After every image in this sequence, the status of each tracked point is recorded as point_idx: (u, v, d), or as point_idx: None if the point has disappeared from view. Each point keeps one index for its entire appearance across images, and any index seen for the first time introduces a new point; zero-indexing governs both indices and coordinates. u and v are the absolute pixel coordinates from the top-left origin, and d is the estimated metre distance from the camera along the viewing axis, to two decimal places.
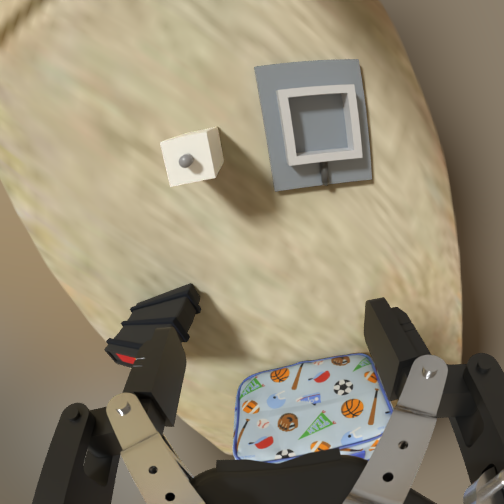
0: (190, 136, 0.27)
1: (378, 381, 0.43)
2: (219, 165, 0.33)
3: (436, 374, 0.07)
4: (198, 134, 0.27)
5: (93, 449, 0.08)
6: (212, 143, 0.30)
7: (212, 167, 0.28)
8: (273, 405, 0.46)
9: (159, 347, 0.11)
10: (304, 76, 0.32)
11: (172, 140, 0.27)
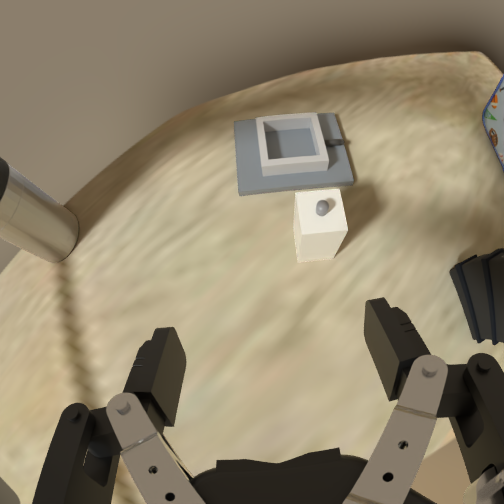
0: (299, 206, 0.30)
1: (495, 93, 0.34)
2: None
3: (436, 374, 0.07)
4: (297, 199, 0.30)
5: (93, 449, 0.08)
6: None
7: (329, 190, 0.30)
8: None
9: (159, 347, 0.11)
10: (249, 156, 0.43)
11: (301, 222, 0.29)
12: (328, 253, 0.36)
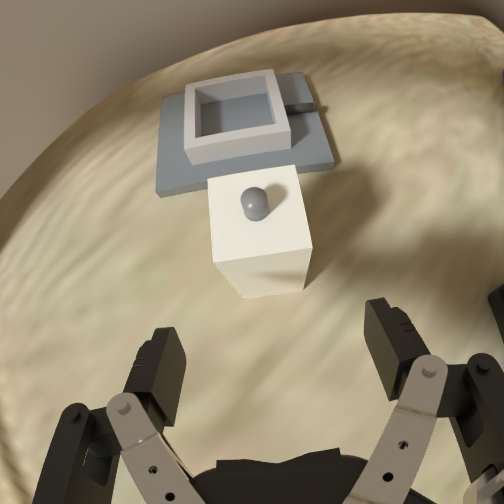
0: (211, 204, 0.15)
1: None
2: None
3: (436, 374, 0.07)
4: (210, 190, 0.15)
5: (93, 449, 0.08)
6: None
7: (275, 169, 0.15)
8: None
9: (159, 347, 0.11)
10: (176, 139, 0.28)
11: (214, 237, 0.15)
12: (290, 284, 0.21)
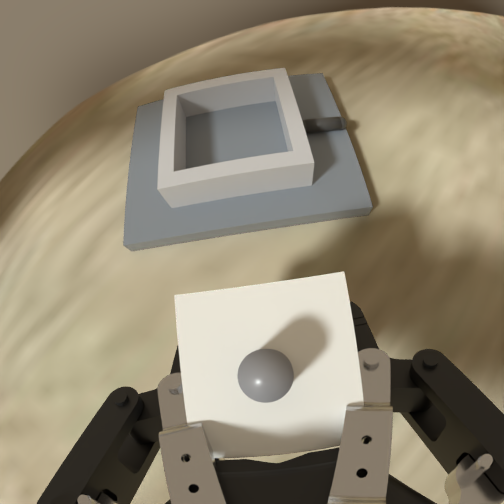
0: (184, 351, 0.08)
1: None
2: None
3: (376, 367, 0.08)
4: (180, 322, 0.08)
5: (134, 435, 0.08)
6: None
7: (305, 281, 0.08)
8: None
9: None
10: (152, 167, 0.21)
11: (191, 416, 0.07)
12: None
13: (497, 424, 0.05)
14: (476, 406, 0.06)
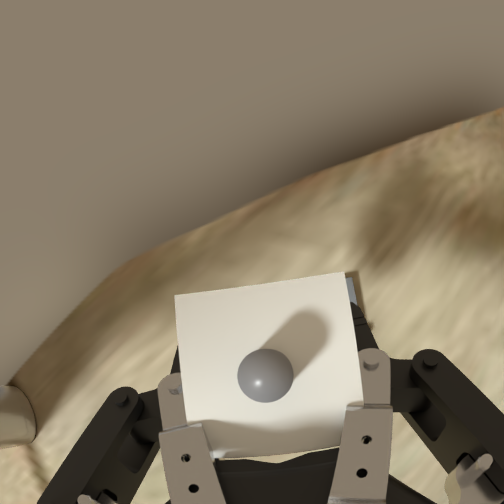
0: (184, 351, 0.08)
1: None
2: None
3: (376, 367, 0.08)
4: (180, 322, 0.08)
5: (134, 435, 0.08)
6: None
7: (305, 281, 0.08)
8: None
9: None
10: None
11: (191, 416, 0.07)
12: None
13: (497, 424, 0.05)
14: (476, 406, 0.06)
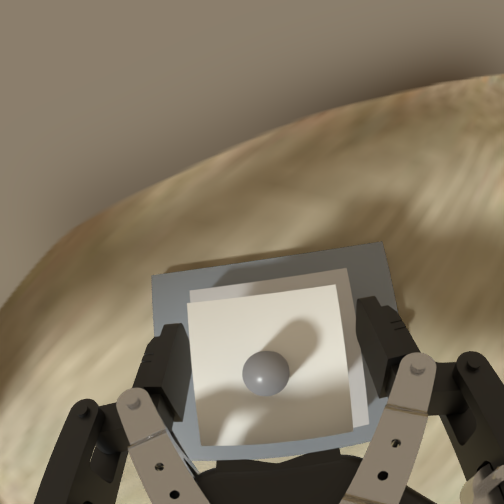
0: (195, 352, 0.09)
1: None
2: None
3: (424, 372, 0.07)
4: (192, 327, 0.09)
5: (101, 445, 0.08)
6: None
7: (301, 292, 0.09)
8: None
9: (168, 343, 0.11)
10: None
11: (200, 408, 0.08)
12: None
13: None
14: None
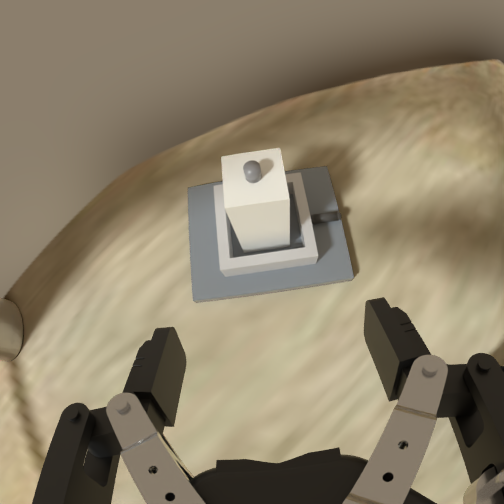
0: (224, 172, 0.22)
1: None
2: None
3: (436, 374, 0.07)
4: (223, 164, 0.23)
5: (93, 449, 0.08)
6: None
7: (266, 150, 0.23)
8: None
9: (159, 347, 0.11)
10: (208, 244, 0.32)
11: (225, 192, 0.22)
12: (278, 238, 0.28)
13: None
14: None
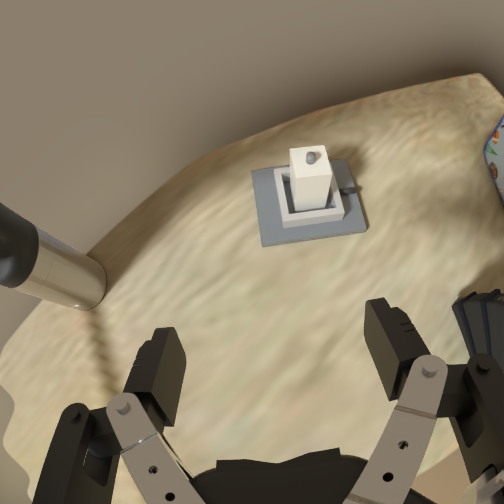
0: (292, 158, 0.37)
1: (496, 129, 0.38)
2: None
3: (436, 374, 0.07)
4: (291, 153, 0.38)
5: (93, 449, 0.08)
6: None
7: (316, 146, 0.38)
8: None
9: (159, 347, 0.11)
10: (269, 207, 0.47)
11: (295, 169, 0.37)
12: (319, 201, 0.43)
13: None
14: None
